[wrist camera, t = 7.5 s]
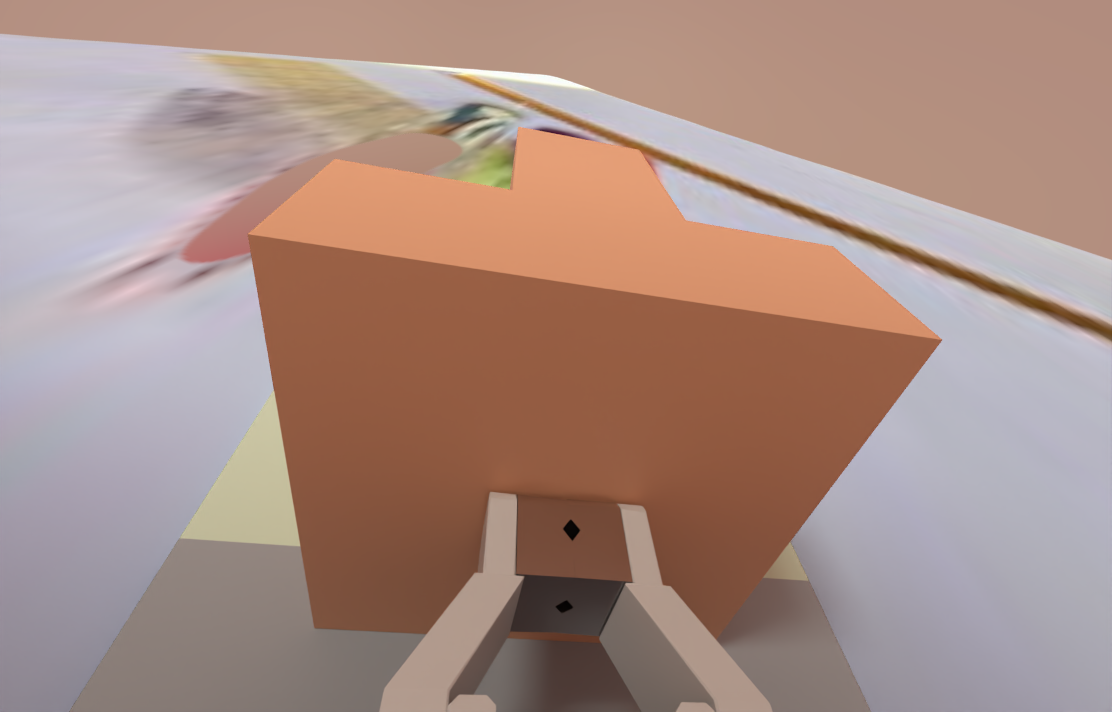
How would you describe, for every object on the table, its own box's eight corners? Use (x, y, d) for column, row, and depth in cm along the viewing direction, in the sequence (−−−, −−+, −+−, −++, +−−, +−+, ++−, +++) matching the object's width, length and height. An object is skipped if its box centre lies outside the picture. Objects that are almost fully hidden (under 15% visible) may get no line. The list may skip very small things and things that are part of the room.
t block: (314, 628, 12) (247, 233, 6) (395, 387, 19) (398, 103, 14) (709, 648, 14) (942, 340, 8) (647, 417, 21) (743, 170, 15)
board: (-214, 1203, 6) (-247, 1208, 6) (321, 328, 23) (319, 317, 22) (1023, 1085, 9) (1048, 1087, 9) (703, 377, 25) (708, 367, 25)
